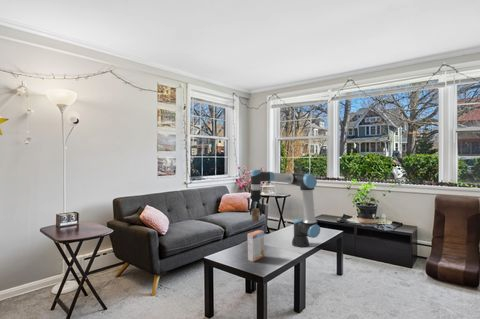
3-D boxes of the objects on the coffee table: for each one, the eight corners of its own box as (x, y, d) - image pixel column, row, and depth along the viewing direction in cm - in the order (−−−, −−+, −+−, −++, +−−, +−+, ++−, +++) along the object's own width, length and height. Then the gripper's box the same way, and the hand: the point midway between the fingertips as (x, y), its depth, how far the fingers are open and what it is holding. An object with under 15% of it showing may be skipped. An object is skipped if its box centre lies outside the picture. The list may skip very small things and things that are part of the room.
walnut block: (259, 220, 228) (259, 208, 228) (258, 221, 224) (258, 209, 223) (253, 219, 230) (253, 208, 229) (252, 221, 225) (251, 209, 225)
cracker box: (258, 255, 234) (258, 229, 234) (264, 257, 230) (264, 230, 230) (247, 260, 224) (247, 233, 224) (253, 262, 220) (253, 234, 220)
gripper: (268, 189, 228) (268, 219, 228) (245, 188, 232) (245, 218, 232) (266, 190, 220) (266, 221, 221) (243, 189, 225) (243, 220, 225)
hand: (255, 219), depth 227 cm, fingers closed on walnut block, 5 cm apart
